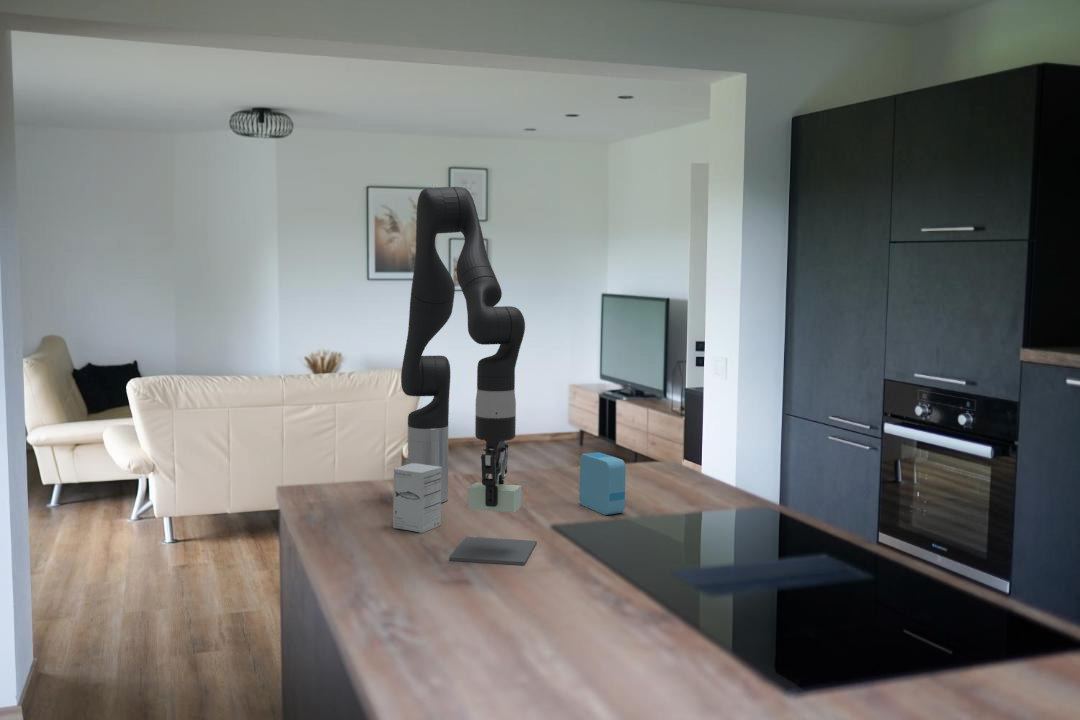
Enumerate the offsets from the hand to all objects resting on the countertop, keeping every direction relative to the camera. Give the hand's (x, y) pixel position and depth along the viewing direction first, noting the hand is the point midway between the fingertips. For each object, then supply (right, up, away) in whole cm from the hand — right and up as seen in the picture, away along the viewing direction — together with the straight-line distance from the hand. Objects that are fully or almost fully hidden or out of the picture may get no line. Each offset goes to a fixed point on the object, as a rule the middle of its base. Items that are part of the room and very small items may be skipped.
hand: (494, 502), depth 186 cm
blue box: (+22, -7, +35) cm, 42 cm away
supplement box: (-17, -8, +18) cm, 26 cm away
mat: (0, -10, +1) cm, 10 cm away
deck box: (0, -1, 0) cm, 1 cm away
